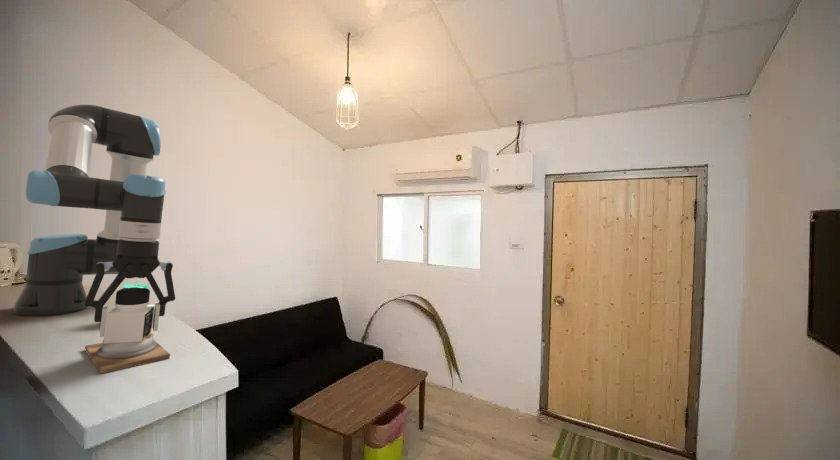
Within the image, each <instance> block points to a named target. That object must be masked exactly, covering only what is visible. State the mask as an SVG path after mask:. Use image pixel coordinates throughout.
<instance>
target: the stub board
mask: <svg viewBox="0 0 840 460" xmlns="http://www.w3.org/2000/svg"><path fill="white" fill-rule="evenodd" d="M103 341H104V338H103V340H102V342H100V343H98V342H97V343H92V344H88V345H85V346H84V350H85V349H86V351H87V352H88V354H89V355H88V354H87V355H88V357H89V356H90V357H91V358H90V357H89V358H90V360H91V359H92V360H91V362H92V363H93V364H94V366H95V367H96V369H97V370H98V372H99V374H104V373H105V374H106V373H109V372H114V371H118V370H123V368H124V369H126V368H132V367H136V366H135V365H137V366H140V365H139V364H141V365H145V364H144V363H146V364H150V363H154V362H158V361H164V360H168V359H170V358H171V354H170V352H169V351H167V350H166V349H165V348H164V347H163V346H162V345H160V344H159V343H158V342H157V341H156V340H155V339H154V333H152V332H151V333H150V334H149V335H148V336H147V337H146V338H145V340H144V341H143V342H130V343H110V344H104V343H103ZM86 351H85V352H86ZM87 352H86V353H87ZM131 366H132V367H131Z"/></svg>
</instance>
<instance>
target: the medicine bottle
mask: <svg viewBox="0 0 840 460" xmlns="http://www.w3.org/2000/svg"><path fill="white" fill-rule="evenodd" d="M115 292H116V294H115V303H114V308H112V309H111V310H109V311H107V314H106V322H105V331H104V337H103V339H104V341H103V340H102V343H104V344H110V343H130V342H143V341H144V340H145V338H146V337H147V336H148V335H149V334H150V333H152V332H153V328H152V327H153V318H154V309H155V304H150V295H151V291H150V289H149V288H148V289H147V288H143V287H128V288H123V287H122V288H121V289H119V290H117V291H115Z"/></svg>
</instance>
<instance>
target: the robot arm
mask: <svg viewBox="0 0 840 460" xmlns="http://www.w3.org/2000/svg"><path fill="white" fill-rule="evenodd" d="M47 124H48V125H47V130H48V132H49V134H50V136H51V139H50V142H49V147H48V153H47V157H46V161H45V167H44V170H31V171H29V172H28V175H27V178H26V186H25V187H26V188H25V189H26V190H25V198H26V200H27V201H28V202H29V203H30V204H38V205H45V206H50V207H66V208H77V209H78V208H79V209H82V208H83V209H92V210H93V209H94V210H102V211H103V210H105V221H104V227H103V229H102V230H101V231H99V232H98V233H97V234H96V239H94V238H93V239H92V238H91V239H90V238H88V235H87V234H82V233H80V234H78V233H77V234H76V233H69V234H66V233H65V234H52V235H51V234H50V235H41V236H37V237H35V238H33V239H32V240H31V241H30V244H29V249H28V252H27V255H28V261H27V269H26V275H25V276H26V277H25V278H26V279H25V285H24V287H23V289H22V290H21V293H20V294H19V295H18V297H17V299H16V301H15V302H14V304H13V310H12V312H13V314H15V315H17V316H28V317H29V316H32V317H34V316H35V317H37V316H41V317H42V316H53V315H62V314H69V313H74V312H78V311H81V310H84V309H87V308H88V307H90V308H93V309H94V318H93V320H94V323H100V329H99V338H104V331H105V322H106V314H107V313H108V305H106V304H107V302H108V301H109V299H110V298H111V297H112V296H113V294H114V293H115V292H116V290H117V289H118V288H119V287H120V285H121V284H122V282H123V281H124V280H126V279H135V278H139V279H145V278H146V280H147V281H148V283H149V285H150V287H151V288H152V291H153V293H154V294H155V296H156V298H157V300H158V301H156V302H154V314H153V323H152V332H156V331H157V332H158V329H159V320H160V319H159V318H160V317H164V316H165V315H166V314H165V313H166V307H167V306H166V304H167V303H169V302H174V301H175V300H176V294H175V288H174V282H173V277H172V270H173V267H174V263H173V262H171V261H160V259H159V258H158V256H159V250H160V249H159V247H160V242H159V239H160V238H161V227H162V216H163V209H164V202H165V195H166V180H165V179H163V178H161V177H159V176H157V177H156V176H152V175H147V174H146V172H147V165H148V164H149V163H151V162H152V161H153V160H154V156H159V155H160V153H161V146H162V145H161V144H162V142H161V140H162V139H161V131H160V127H159V124H158V123H157V122H156V121H154V120H153V119H149V118H146V117H145V116H144V117H143V116H141V115H137V114H131V113H127V112H123V111H119V110H115V109H111V108H107V107H103V106H100V105H95V104H76V105H70V106H67V107H64V108H62V109H59V110H57V111H56V112H55V113H53V115H51V116H50V118H49V120H48V123H47ZM93 144H96V145H101V146H105V147H106V150H105V151H106V153H107V154H108V155H109V156H110V157H111V166H110V174H109V175H110V176H109V179H105V178H98V177H97V178H96V177H91V166H92V165H91V163H92V147H93ZM158 267H160V270H161V271H163V274H164V275H163V276H164V280H165V285H166V290H167V295H166V296H164V294H163V292H162V290H161V289H160V287H159V285H158V283H157V281H156V280H155V278H154V276H153V272H154V271H155V270H156V269H157V268H158ZM88 275H89V276H92V275H94V279H93V281H92V283H91V286H90V287H89V290H88V293H86V290H85V287H84V285H83V277H84V276H88ZM105 275H116V276H115V278H114V279H113V280H112V282H111V283H110V285H109V286H108V287H107V288H106V290H105V291H104V292H103V294H102V295H101V296H100V297H99V298H98V300H95V298H96V297H97V293H98V291H99V289H100V286H101V283H102V281H103V279H104V276H105Z"/></svg>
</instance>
